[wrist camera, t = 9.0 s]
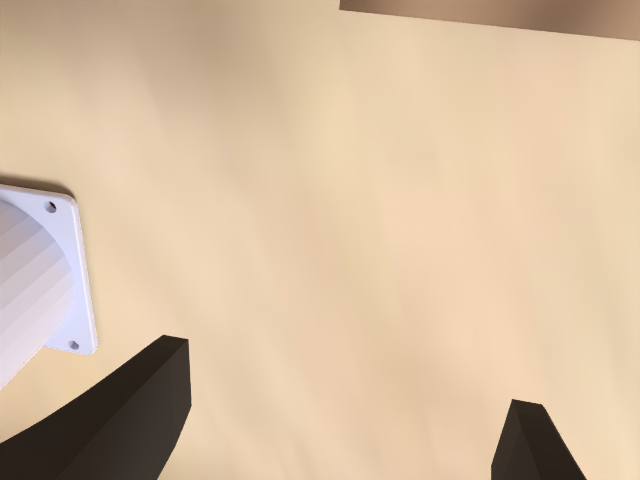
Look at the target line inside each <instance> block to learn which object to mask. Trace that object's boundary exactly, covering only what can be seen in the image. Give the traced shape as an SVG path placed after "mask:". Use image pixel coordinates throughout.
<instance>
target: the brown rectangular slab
mask: <svg viewBox="0 0 640 480" xmlns="http://www.w3.org/2000/svg"><path fill="white" fill-rule="evenodd" d="M339 10H346V11H356V12H366V13H375V14H385V15H395V16H404V17H414V18H423V19H433V20H443V21H452V22H462V23H471V24H481V25H491V26H500V27H510V28H520V29H529V30H539V31H548V32H558V33H568V34H577V35H587V36H596V37H606V38H616V39H625V40H635V41H640V0H340V7H339Z"/></svg>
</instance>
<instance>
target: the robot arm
mask: <svg viewBox="0 0 640 480" xmlns="http://www.w3.org/2000/svg"><path fill="white" fill-rule="evenodd" d="M50 202H52V203H53V204H54V205H55V206H56V209H55V208H53V207H52V206H51V204H50ZM76 342H77V343H78V344H77V343H76ZM42 347H47V348H52V349H58V350H63V351H68V352H73V353H78V354H84V355H91V354H93V353H94V351H95V350H96V349H97V348H98V340H97V333H96V327H95V320H94V313H93V306H92V299H91V292H90V285H89V278H88V271H87V265H86V258H85V251H84V244H83V237H82V230H81V223H80V216H79V209H78V205H77V203H76V201H75V200H74V199H73V198H72V197H71V196H69V195H66V194H61V193H55V192H48V191H42V190H36V189H29V188H23V187H16V186H10V185H3V184H0V391H1V390H2V388H3V387H4V386H5V385H6V384H7V383H8V382H9V381H10V380H11V379H12V378H13V377H14V376H15V375H16V374H17V373H18V372H19V371H20V370H21V369H22V368H23V367H24V365H25V364H26V363H27V362H28V361H29V360H30V359H31V358H32V357H33V356H34V355H35V354H36V353H37V352H38V351H39V350H40V349H41V348H42ZM191 406H192V405H191V384H190V363H189V343H188V339H183V338H178V337H172V336H167V335H162V336H161V337H159V338H158V339H157V340H155V341H154V342H152V343H151V344H150V345H148V346H147V347H146V348H144V349H143V350H142V351H140V352H139V353H138V354H136V355H135V356H134V357H132V358H131V359H130V360H128V361H127V362H126V363H124V364H123V365H122V366H120V367H119V368H118V369H116V370H115V371H114V372H112V373H111V374H109V375H108V376H107V377H105V378H104V379H102V380H101V381H100V382H98V383H97V384H96V385H94V386H93V387H91V388H90V389H89V390H87V391H86V392H84V393H83V394H81V395H80V396H78V397H77V398H75V399H74V400H72V401H71V402H69V403H68V404H66V405H65V406H63V407H62V408H60V409H58V410H57V411H55V412H54V413H52V414H51V415H49V416H48V417H46V418H44V419H43V420H41V421H39V422H38V423H36V424H34V425H33V426H31V427H29V428H28V429H26V430H24V431H22V432H20V433H18V434H17V435H15V436H13V437H11V438H9V439H8V440H6V441H4V442H2V443H0V480H157V479H158V477H159V475H160V473H161V471H162V470H163V468H164V466H165V464H166V462H167V461H168V459H169V457H170V455H171V453H172V451H173V449H174V448H175V446H176V443H177V441H178V438H179V436H180V434H181V431H182V429H183V426H184V424H185V421H186V419H187V416H188V413H189V411H190V408H191ZM491 480H587V479H586V478H585V476H584V474H583V473H582V471H581V470H580V468H579V466H578V465H577V463H576V461H575V460H574V458H573V456H572V455H571V453H570V451H569V450H568V448H567V446H566V445H565V443H564V441H563V439H562V438H561V436H560V434H559V432H558V431H557V429H556V427H555V425H554V423H553V422H552V420H551V418H550V416H549V415H548V413H547V411H546V409H545V408H544V407H543V405H542V404H536V403H531V402H525V401H520V400H514V399H512V402H511V405H510V408H509V411H508V414H507V417H506V421H505V424H504V427H503V430H502V433H501V436H500V440H499V443H498V446H497V449H496V452H495V455H494V458H493V462H492V465H491Z"/></svg>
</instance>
